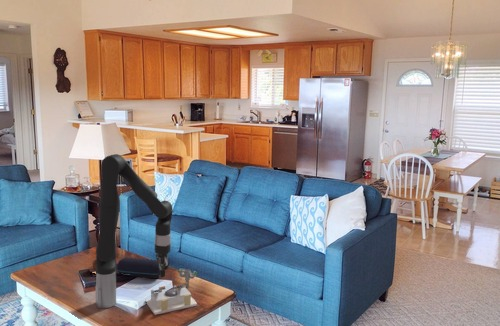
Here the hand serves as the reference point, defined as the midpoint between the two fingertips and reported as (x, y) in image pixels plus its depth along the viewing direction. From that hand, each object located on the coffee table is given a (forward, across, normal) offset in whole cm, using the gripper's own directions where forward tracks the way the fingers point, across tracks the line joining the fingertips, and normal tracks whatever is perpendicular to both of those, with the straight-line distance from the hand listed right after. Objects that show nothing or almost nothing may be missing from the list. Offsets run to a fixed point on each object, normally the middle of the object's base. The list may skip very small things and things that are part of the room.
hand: (162, 276), depth 218 cm
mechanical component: (+17, -16, +20) cm, 31 cm away
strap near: (+9, -3, 0) cm, 10 cm away
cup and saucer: (+17, -56, -18) cm, 61 cm away
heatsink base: (+17, -3, +6) cm, 18 cm away
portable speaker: (+17, -41, +2) cm, 45 cm away
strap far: (+9, -3, +12) cm, 16 cm away
